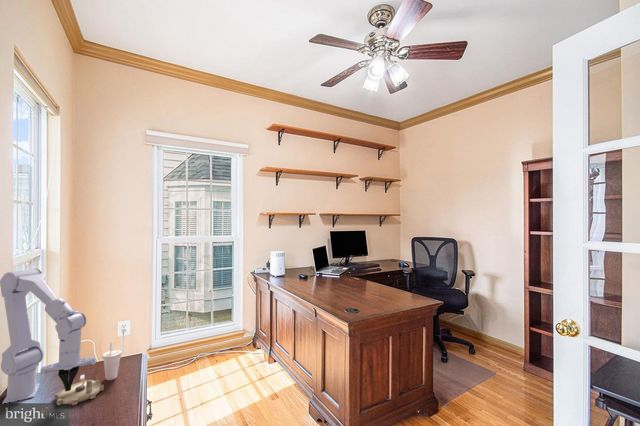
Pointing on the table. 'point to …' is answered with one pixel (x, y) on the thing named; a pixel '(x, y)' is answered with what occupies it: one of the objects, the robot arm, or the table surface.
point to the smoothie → (111, 363)
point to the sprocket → (79, 392)
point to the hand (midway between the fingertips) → (68, 389)
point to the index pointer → (82, 378)
